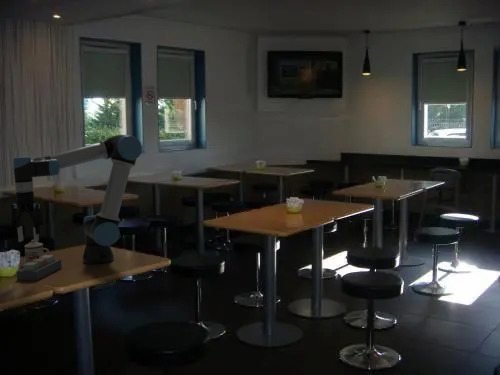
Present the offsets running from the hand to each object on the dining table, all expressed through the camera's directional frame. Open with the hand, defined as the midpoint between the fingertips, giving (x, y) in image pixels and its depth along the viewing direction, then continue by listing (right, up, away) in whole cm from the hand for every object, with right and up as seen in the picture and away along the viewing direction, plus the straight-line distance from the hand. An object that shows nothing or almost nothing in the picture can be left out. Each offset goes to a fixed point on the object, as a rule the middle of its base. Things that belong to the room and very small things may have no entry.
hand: (28, 241), depth 287 cm
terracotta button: (+2, -13, +9) cm, 16 cm away
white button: (+4, -12, +15) cm, 20 cm away
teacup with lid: (-6, -14, +31) cm, 35 cm away
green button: (+1, -14, +2) cm, 14 cm away
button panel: (+2, -16, +9) cm, 18 cm away
